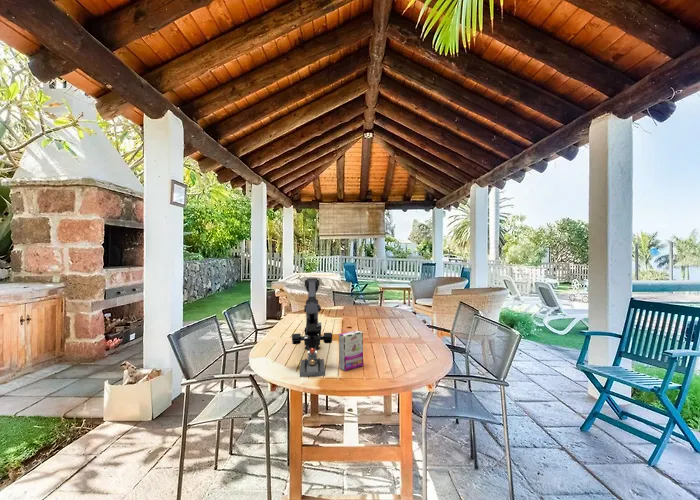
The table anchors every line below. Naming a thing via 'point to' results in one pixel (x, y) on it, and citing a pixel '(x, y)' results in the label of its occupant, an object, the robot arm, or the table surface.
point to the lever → (312, 355)
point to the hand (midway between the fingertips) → (312, 355)
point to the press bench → (320, 373)
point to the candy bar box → (350, 350)
